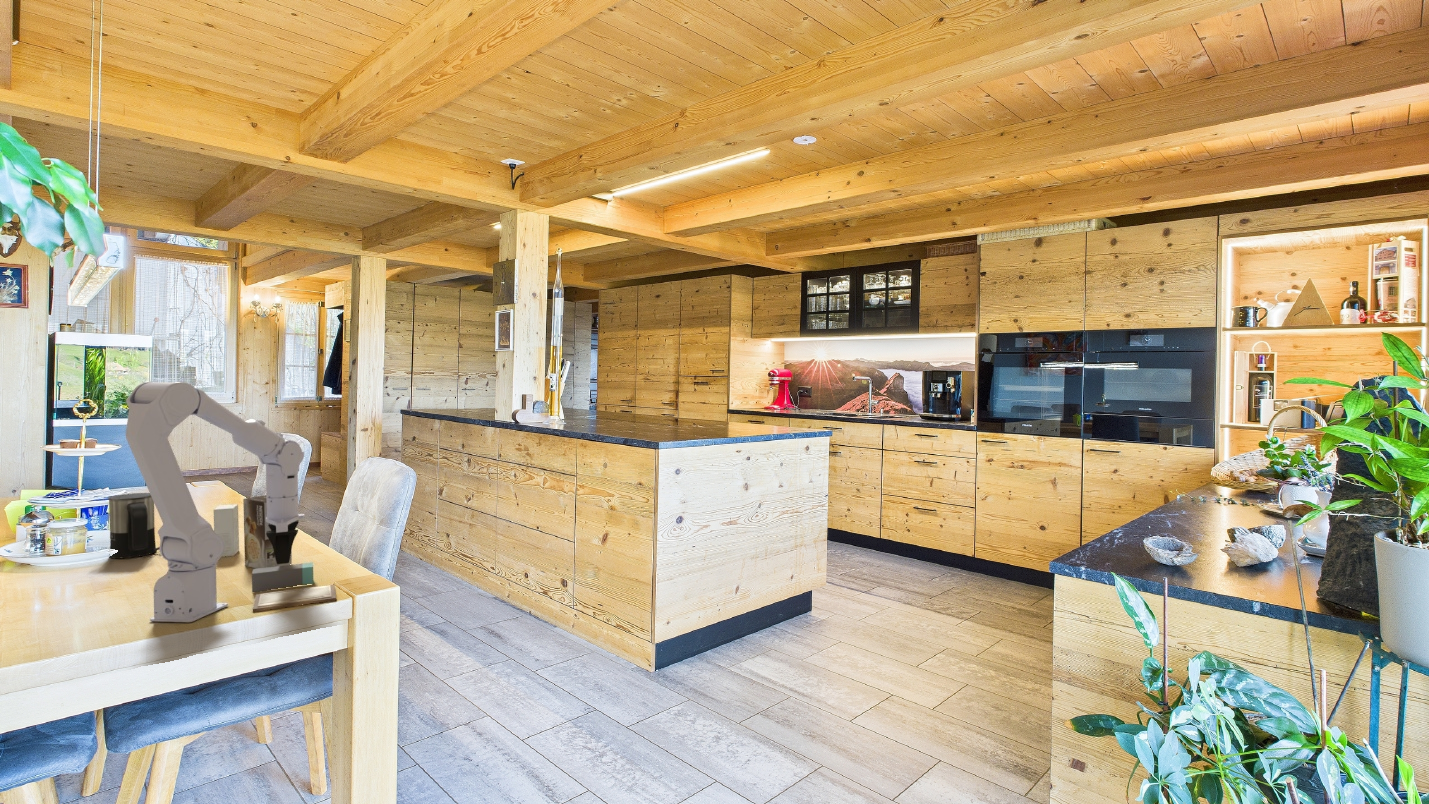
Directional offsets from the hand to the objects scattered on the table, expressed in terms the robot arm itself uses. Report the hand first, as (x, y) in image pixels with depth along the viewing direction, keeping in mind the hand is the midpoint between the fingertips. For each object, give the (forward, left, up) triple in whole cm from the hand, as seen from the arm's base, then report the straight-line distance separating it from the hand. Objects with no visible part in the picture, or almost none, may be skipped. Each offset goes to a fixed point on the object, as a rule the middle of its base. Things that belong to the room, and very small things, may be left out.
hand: (283, 559), depth 148 cm
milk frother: (+24, +50, -6) cm, 56 cm away
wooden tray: (-8, -8, -6) cm, 13 cm away
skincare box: (+24, +31, -6) cm, 40 cm away
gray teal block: (0, 0, -6) cm, 6 cm away
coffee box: (+15, +14, -6) cm, 21 cm away
